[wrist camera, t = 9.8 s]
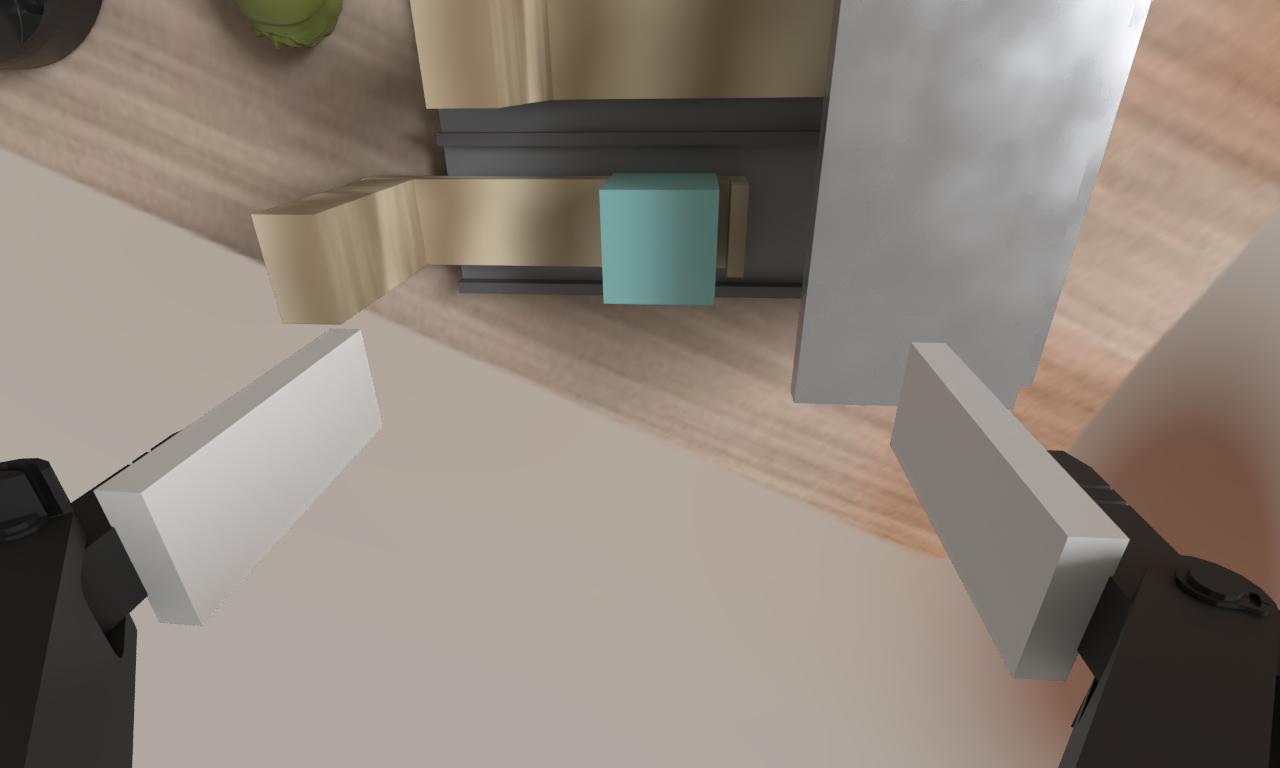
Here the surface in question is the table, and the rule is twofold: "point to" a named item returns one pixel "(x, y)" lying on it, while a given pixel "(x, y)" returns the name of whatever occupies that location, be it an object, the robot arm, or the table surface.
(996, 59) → the grey open box shape
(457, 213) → the wooden l-shaped bracket
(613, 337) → the table surface
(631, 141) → the lane board
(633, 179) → the block
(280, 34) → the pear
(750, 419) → the table surface
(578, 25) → the strip near
